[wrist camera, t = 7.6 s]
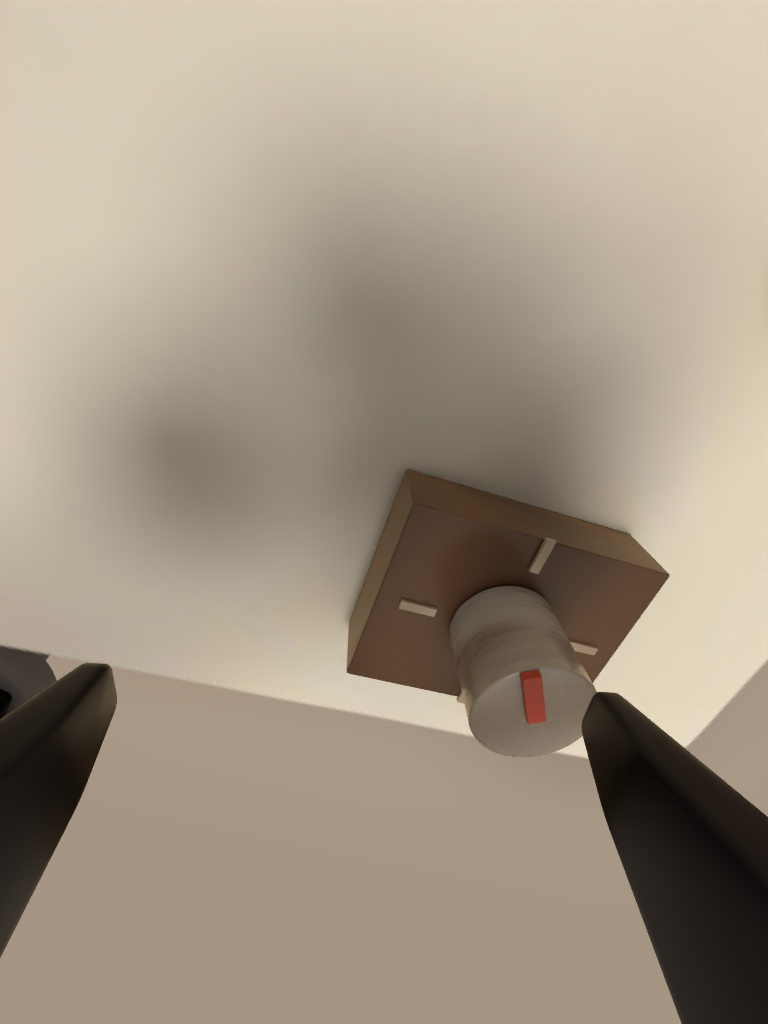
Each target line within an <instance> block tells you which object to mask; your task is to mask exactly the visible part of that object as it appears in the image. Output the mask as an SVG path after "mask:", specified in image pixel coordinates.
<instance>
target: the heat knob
mask: <svg viewBox="0 0 768 1024" xmlns="http://www.w3.org/2000/svg"><path fill="white" fill-rule="evenodd" d="M449 635H450V641H451V646H452V650H453V655H454V659H455V664H456V668H457V672H458V677H459V681H460V686H461V690H462V695H463V699H464V704H465V708H466V713H467V717H468V721H469V726H470V729H471V732H472V733H473V735H474V737H475V738H476V739H477V740H478V742H479V743H481V744H482V745H483V746H484V747H486V748H487V749H489V750H491V751H493V752H496V753H498V754H502V755H506V756H512V757H532V756H540V755H544V754H548V753H552V752H555V751H558V750H560V749H562V748H564V747H566V746H568V745H570V744H572V743H573V742H575V741H576V740H578V739H579V738H580V737H582V736H583V735H582V720H583V717H584V715H585V713H586V710H587V708H588V706H589V704H590V701H591V699H592V697H593V695H594V694H596V693H597V691H596V689H595V687H594V685H593V683H592V682H591V680H590V678H589V676H588V674H587V672H586V671H585V669H584V667H583V665H582V663H581V661H580V659H579V658H578V656H577V654H576V652H575V650H574V648H573V647H572V645H571V643H570V641H569V639H568V637H567V636H566V634H565V632H564V630H563V628H562V626H561V624H560V623H559V621H558V619H557V617H556V615H555V613H554V612H553V610H552V608H551V606H550V604H549V603H548V602H547V601H546V599H544V598H543V597H542V596H541V595H539V594H538V593H536V592H534V591H532V590H530V589H527V588H523V587H518V586H500V587H494V588H490V589H487V590H484V591H482V592H480V593H478V594H476V595H474V596H472V597H471V598H469V599H468V600H467V601H466V602H464V603H463V604H462V605H461V606H460V608H459V609H458V610H457V612H456V613H455V615H454V617H453V619H452V622H451V625H450V632H449Z"/></svg>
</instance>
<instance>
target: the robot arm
mask: <svg viewBox="0 0 768 1024" xmlns="http://www.w3.org/2000/svg"><path fill="white" fill-rule="evenodd" d="M11 701H12V696H11V694H10V693H8V692H7V691H4V690H2V689H0V957H1V955H2V953H3V951H4V949H5V948H6V946H7V943H8V942H9V940H10V938H11V936H12V934H13V932H14V930H15V928H16V926H17V924H18V922H19V920H20V918H21V916H22V914H23V912H24V910H25V908H26V906H27V904H28V902H29V900H30V898H31V896H32V894H33V892H34V890H35V888H36V886H37V884H38V882H39V880H40V878H41V876H42V874H43V872H44V870H45V868H46V866H47V864H48V862H49V860H50V859H51V857H52V855H53V853H54V851H55V848H56V847H57V845H58V843H59V841H60V839H61V837H62V835H63V833H64V831H65V829H66V827H67V825H68V823H69V821H70V819H71V817H72V815H73V813H74V811H75V809H76V807H77V805H78V803H79V800H80V798H81V796H82V793H83V791H84V789H85V786H86V784H87V781H88V779H89V776H90V774H91V771H92V768H93V766H94V763H95V761H96V758H97V755H98V753H99V750H100V748H101V745H102V742H103V740H104V737H105V735H106V732H107V729H108V727H109V724H110V721H111V719H112V717H113V714H114V711H115V708H116V704H117V694H116V688H115V683H114V678H113V673H112V669H111V667H110V666H109V665H108V664H99V663H85V664H82V665H80V666H79V667H77V668H76V669H74V670H73V671H72V672H70V673H68V674H67V675H65V676H64V677H62V678H61V679H59V680H58V681H56V682H55V683H53V684H52V685H50V686H49V687H47V688H46V689H45V690H43V691H42V692H40V693H39V694H37V695H36V696H34V697H33V698H31V699H30V700H28V701H27V702H25V703H24V704H22V705H21V706H19V707H18V708H16V709H15V710H13V711H12V712H10V713H9V714H7V715H6V713H7V711H8V708H9V706H10V704H11ZM582 735H583V738H584V742H585V746H586V750H587V753H588V757H589V761H590V765H591V768H592V772H593V776H594V779H595V783H596V787H597V791H598V794H599V798H600V802H601V805H602V808H603V811H604V815H605V818H606V821H607V824H608V827H609V830H610V832H611V835H612V838H613V840H614V843H615V846H616V848H617V851H618V854H619V856H620V859H621V861H622V864H623V867H624V870H625V873H626V875H627V878H628V881H629V883H630V886H631V889H632V891H633V894H634V897H635V899H636V902H637V905H638V908H639V910H640V913H641V916H642V918H643V921H644V924H645V926H646V929H647V932H648V934H649V937H650V940H651V942H652V945H653V948H654V950H655V953H656V956H657V958H658V961H659V964H660V967H661V969H662V972H663V975H664V977H665V980H666V983H667V985H668V988H669V991H670V994H671V996H672V999H673V1002H674V1004H675V1007H676V1009H677V1012H678V1015H679V1018H680V1020H681V1023H682V1024H768V817H767V816H766V815H765V814H763V813H762V812H761V811H760V810H759V809H757V808H756V807H755V806H754V805H753V804H751V803H750V802H749V801H748V800H746V799H745V798H744V797H743V796H742V795H741V794H739V793H738V792H737V791H735V790H734V789H733V788H732V787H731V786H730V785H728V784H727V783H726V782H725V781H724V780H722V779H721V778H720V777H719V776H718V775H716V774H715V773H714V772H713V771H711V770H710V769H709V768H708V767H707V766H705V765H704V764H703V763H702V762H701V761H699V760H698V759H697V758H696V757H695V756H693V755H692V754H691V753H690V752H689V751H687V750H686V749H685V748H684V747H682V746H681V745H680V744H679V743H678V742H676V741H675V740H674V739H673V738H672V737H670V736H669V735H668V734H667V733H666V732H664V731H663V730H662V729H661V728H659V727H658V726H657V725H656V724H655V723H653V722H652V721H651V720H650V719H649V718H647V717H646V716H645V715H644V714H643V713H641V712H640V711H639V710H638V709H636V708H635V707H634V706H633V705H632V704H630V703H629V702H628V701H627V700H626V699H624V698H623V697H622V696H620V695H619V694H617V693H608V692H597V693H596V694H594V695H593V697H592V699H591V701H590V704H589V706H588V708H587V710H586V713H585V715H584V717H583V720H582Z"/></svg>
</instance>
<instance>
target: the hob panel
mask: <svg viewBox="0 0 768 1024" xmlns="http://www.w3.org/2000/svg"><path fill="white" fill-rule="evenodd" d="M668 577H669V574H668V573H667V572H666V571H665V570H664V569H663V568H662V567H661V566H660V565H659V563H658V562H657V561H656V560H655V559H654V558H653V557H652V556H651V555H650V554H649V553H648V552H647V551H646V550H645V549H644V548H643V547H642V546H641V545H640V544H639V543H638V542H637V541H636V540H635V539H634V538H633V537H632V536H631V535H630V534H626V533H623V532H620V531H616V530H613V529H609V528H606V527H603V526H599V525H596V524H593V523H589V522H586V521H582V520H579V519H576V518H572V517H569V516H565V515H562V514H559V513H555V512H552V511H548V510H545V509H542V508H538V507H535V506H531V505H528V504H525V503H521V502H518V501H514V500H511V499H508V498H504V497H501V496H497V495H494V494H491V493H487V492H484V491H480V490H477V489H474V488H470V487H467V486H463V485H460V484H457V483H453V482H450V481H446V480H443V479H440V478H436V477H433V476H429V475H426V474H423V473H419V472H416V471H412V470H409V469H407V470H406V472H405V475H404V478H403V480H402V483H401V486H400V488H399V491H398V494H397V496H396V499H395V502H394V504H393V507H392V510H391V512H390V515H389V518H388V520H387V523H386V526H385V528H384V531H383V534H382V537H381V539H380V542H379V545H378V547H377V550H376V553H375V555H374V558H373V561H372V563H371V566H370V569H369V571H368V574H367V577H366V579H365V582H364V585H363V587H362V590H361V593H360V596H359V598H358V601H357V604H356V606H355V609H354V612H353V614H352V617H351V620H350V622H349V635H348V655H347V673H349V674H354V675H359V676H363V677H368V678H373V679H378V680H382V681H387V682H392V683H396V684H401V685H406V686H411V687H415V688H420V689H425V690H430V691H434V692H439V693H444V694H448V695H453V696H458V697H457V702H461V703H464V699H463V695H462V690H461V686H460V681H459V677H458V672H457V668H456V664H455V659H454V655H453V650H452V646H451V641H450V635H449V632H450V625H451V622H452V619H453V617H454V615H455V613H456V612H457V610H458V609H459V608H460V606H461V605H462V604H463V603H464V602H466V601H467V600H468V599H469V598H471V597H472V596H474V595H476V594H478V593H480V592H482V591H484V590H487V589H490V588H494V587H500V586H518V587H523V588H527V589H530V590H532V591H534V592H536V593H538V594H539V595H541V596H542V597H543V598H544V599H546V601H547V602H548V603H549V604H550V606H551V608H552V610H553V612H554V613H555V615H556V617H557V619H558V621H559V623H560V624H561V626H562V628H563V630H564V632H565V634H566V636H567V637H568V639H569V641H570V643H571V645H572V647H573V648H574V650H575V652H576V654H577V656H578V658H579V659H580V661H581V663H582V665H583V667H584V669H585V671H586V672H587V674H588V676H589V678H590V680H591V682H592V683H593V682H594V680H595V679H596V678H597V676H598V675H599V673H600V672H601V671H602V669H603V668H604V666H605V665H606V664H607V662H608V661H609V659H610V658H611V657H612V655H613V654H614V653H615V651H616V650H617V648H618V647H619V646H620V644H621V643H622V641H623V640H624V639H625V637H626V636H627V634H628V633H629V632H630V630H631V629H632V628H633V626H634V625H635V623H636V622H637V621H638V619H639V618H640V616H641V615H642V614H643V612H644V611H645V609H646V608H647V607H648V605H649V604H650V602H651V601H652V600H653V598H654V597H655V596H656V594H657V593H658V591H659V590H660V589H661V587H662V586H663V584H664V583H665V582H666V580H667V579H668Z"/></svg>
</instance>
